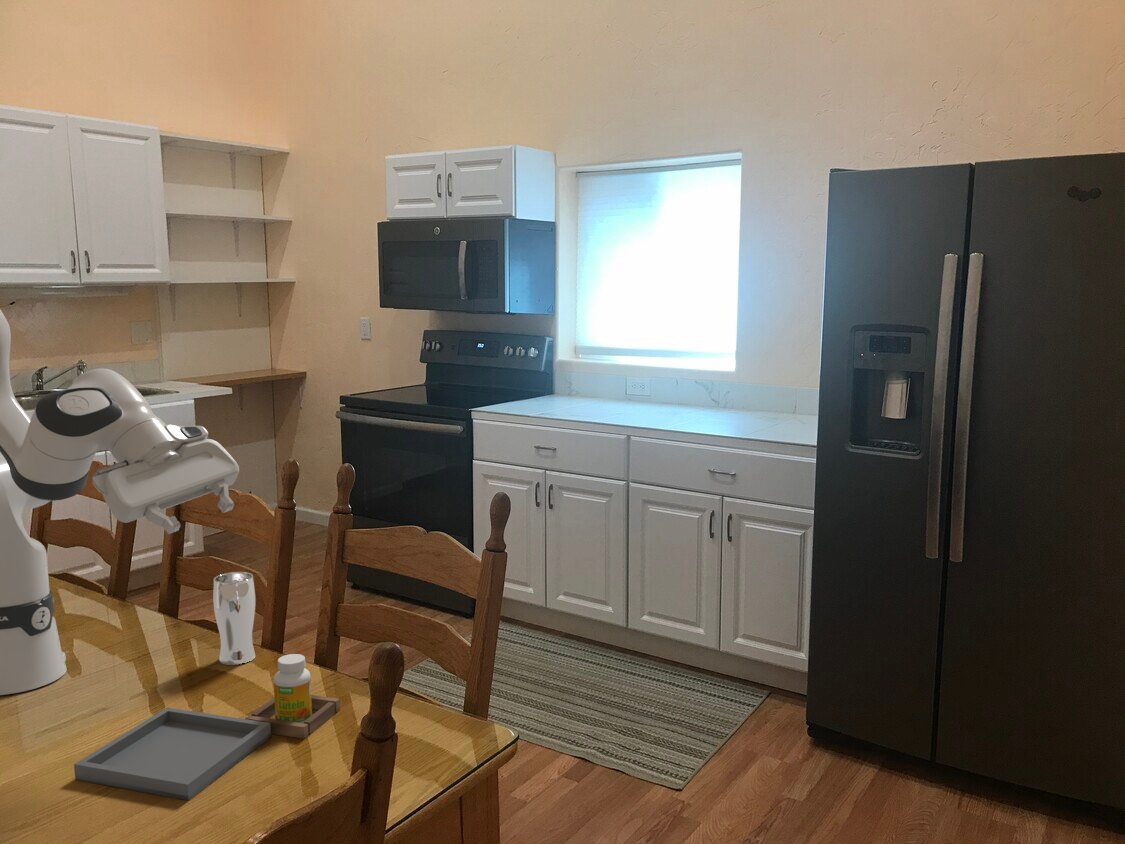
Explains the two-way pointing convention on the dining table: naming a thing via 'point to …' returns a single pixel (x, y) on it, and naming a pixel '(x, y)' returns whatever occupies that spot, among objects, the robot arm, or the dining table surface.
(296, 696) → the supplement bottle
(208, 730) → the grey tray
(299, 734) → the frame
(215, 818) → the dining table surface
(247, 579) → the beer glass
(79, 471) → the robot arm
